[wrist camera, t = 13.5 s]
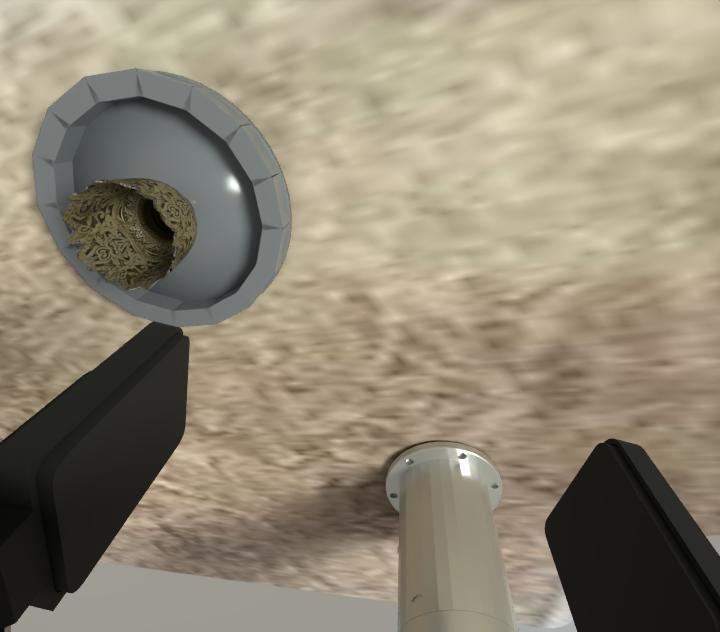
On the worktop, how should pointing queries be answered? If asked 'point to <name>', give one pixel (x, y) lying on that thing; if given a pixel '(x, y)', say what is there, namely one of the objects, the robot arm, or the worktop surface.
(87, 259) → the cup
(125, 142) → the round dish
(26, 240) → the worktop surface
